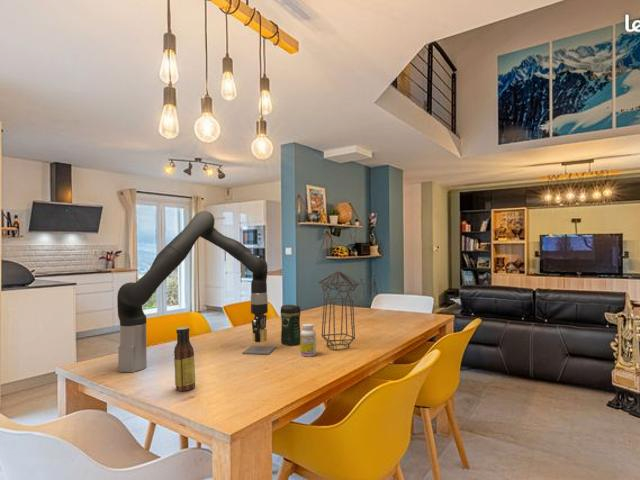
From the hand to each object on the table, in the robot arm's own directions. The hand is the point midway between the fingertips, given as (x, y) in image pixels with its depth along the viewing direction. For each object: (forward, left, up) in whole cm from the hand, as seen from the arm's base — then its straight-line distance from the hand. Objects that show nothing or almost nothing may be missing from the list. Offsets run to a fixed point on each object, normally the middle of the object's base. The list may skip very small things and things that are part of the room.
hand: (259, 340), depth 168 cm
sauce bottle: (-47, +10, -5) cm, 48 cm away
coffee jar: (+14, -11, -5) cm, 18 cm away
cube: (0, 0, 0) cm, 0 cm away
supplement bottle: (-4, -23, -5) cm, 24 cm away
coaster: (0, 0, -5) cm, 5 cm away
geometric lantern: (+10, -35, -5) cm, 37 cm away
